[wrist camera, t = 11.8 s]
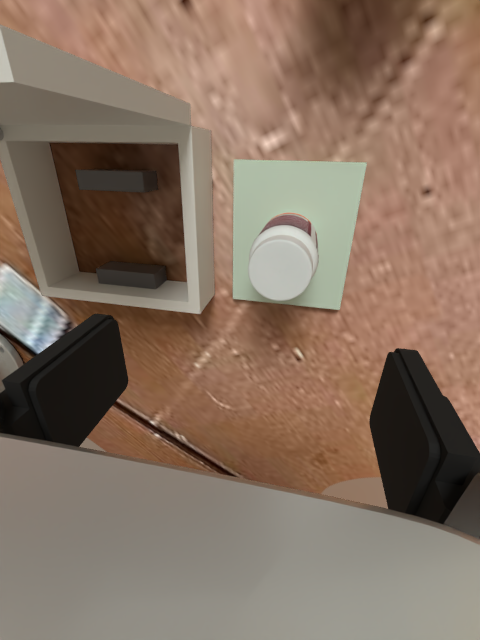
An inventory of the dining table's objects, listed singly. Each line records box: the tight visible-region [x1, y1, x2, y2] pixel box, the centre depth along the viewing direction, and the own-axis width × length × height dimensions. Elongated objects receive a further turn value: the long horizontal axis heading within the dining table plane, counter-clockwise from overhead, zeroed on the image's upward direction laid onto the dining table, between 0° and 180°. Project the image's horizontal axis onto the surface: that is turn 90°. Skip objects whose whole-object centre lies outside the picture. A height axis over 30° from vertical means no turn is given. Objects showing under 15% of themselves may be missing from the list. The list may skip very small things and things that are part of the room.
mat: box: [233, 160, 367, 310], centre depth 27 cm, size 12×10×1 cm
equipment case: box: [0, 25, 215, 314], centre depth 21 cm, size 15×16×18 cm
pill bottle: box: [248, 212, 319, 301], centre depth 23 cm, size 5×5×8 cm
